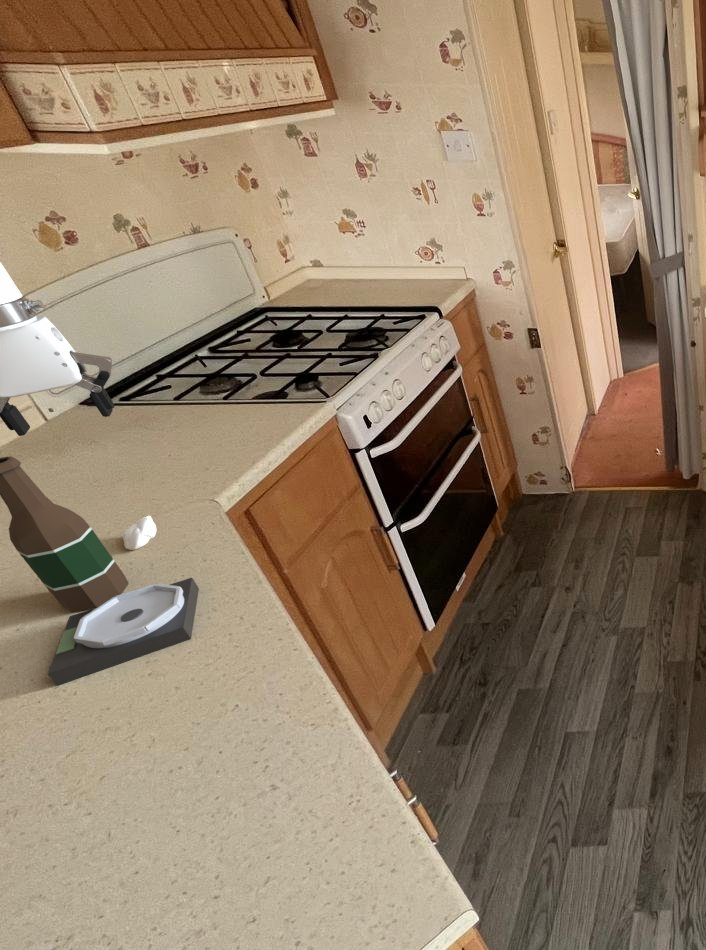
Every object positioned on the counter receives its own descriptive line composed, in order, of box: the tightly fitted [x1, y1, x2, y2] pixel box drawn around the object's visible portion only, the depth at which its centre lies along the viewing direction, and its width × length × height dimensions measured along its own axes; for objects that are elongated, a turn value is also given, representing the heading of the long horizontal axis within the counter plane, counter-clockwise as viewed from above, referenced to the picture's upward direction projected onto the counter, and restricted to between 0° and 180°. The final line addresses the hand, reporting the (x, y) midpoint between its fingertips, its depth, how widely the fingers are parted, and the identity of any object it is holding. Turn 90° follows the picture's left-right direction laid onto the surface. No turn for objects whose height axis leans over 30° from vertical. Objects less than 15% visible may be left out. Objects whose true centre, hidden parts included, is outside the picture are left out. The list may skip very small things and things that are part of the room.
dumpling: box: [122, 515, 158, 551], centre depth 114 cm, size 7×5×4 cm
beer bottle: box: [0, 456, 129, 613], centre depth 97 cm, size 8×8×24 cm
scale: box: [46, 577, 200, 686], centre depth 95 cm, size 14×13×4 cm
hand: (67, 422), depth 104 cm, fingers open, 9 cm apart
